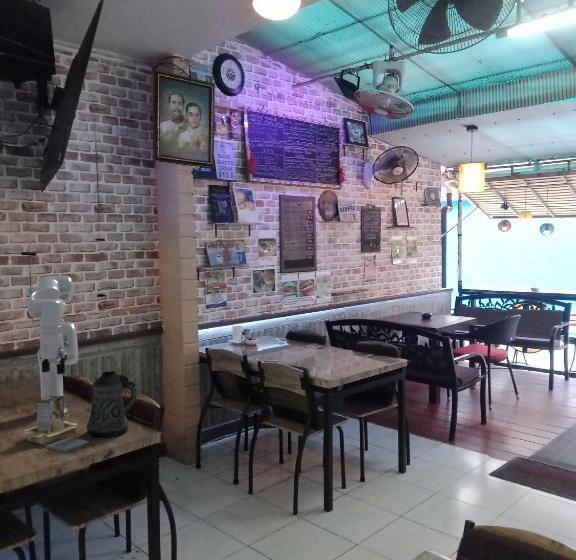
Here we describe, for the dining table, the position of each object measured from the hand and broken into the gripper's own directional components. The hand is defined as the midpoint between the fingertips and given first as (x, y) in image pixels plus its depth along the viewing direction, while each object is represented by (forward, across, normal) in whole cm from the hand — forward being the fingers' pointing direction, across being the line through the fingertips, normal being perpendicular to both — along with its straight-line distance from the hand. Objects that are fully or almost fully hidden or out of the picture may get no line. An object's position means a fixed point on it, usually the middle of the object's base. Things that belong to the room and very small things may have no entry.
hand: (53, 372), depth 227 cm
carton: (+26, 0, -2) cm, 26 cm away
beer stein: (+26, +15, +16) cm, 34 cm away
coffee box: (+26, 0, -2) cm, 26 cm away
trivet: (+26, +14, -4) cm, 30 cm away
